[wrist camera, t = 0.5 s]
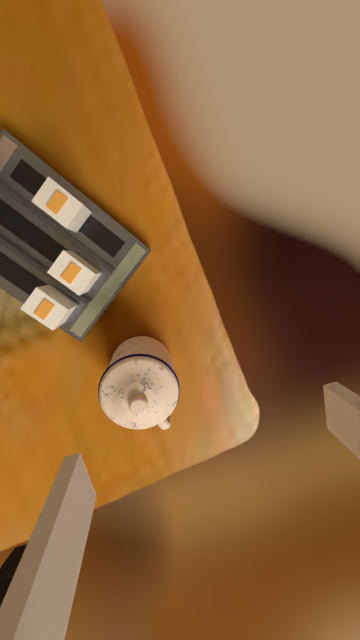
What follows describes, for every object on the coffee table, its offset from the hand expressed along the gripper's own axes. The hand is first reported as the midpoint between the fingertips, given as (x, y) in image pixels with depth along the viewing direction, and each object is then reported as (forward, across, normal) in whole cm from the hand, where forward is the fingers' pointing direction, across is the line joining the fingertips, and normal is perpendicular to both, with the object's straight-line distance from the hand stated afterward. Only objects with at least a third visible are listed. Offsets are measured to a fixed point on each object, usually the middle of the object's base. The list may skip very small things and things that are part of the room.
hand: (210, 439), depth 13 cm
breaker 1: (+22, -8, +17) cm, 29 cm away
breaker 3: (+22, -13, +7) cm, 26 cm away
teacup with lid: (+24, -5, -6) cm, 25 cm away
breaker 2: (+22, -9, +10) cm, 26 cm away
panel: (+24, -12, +14) cm, 30 cm away
